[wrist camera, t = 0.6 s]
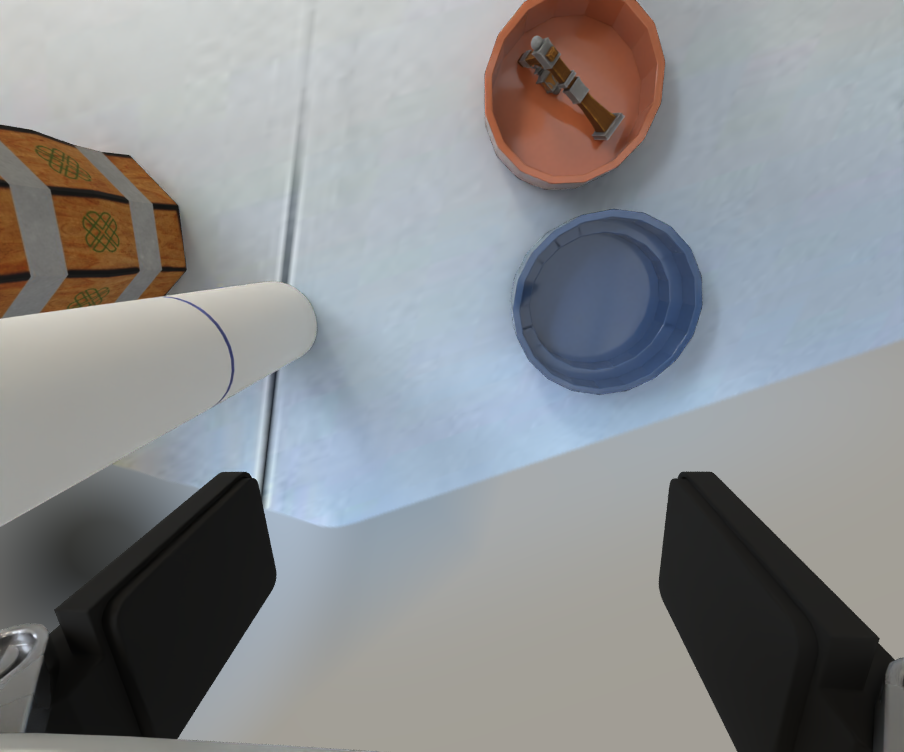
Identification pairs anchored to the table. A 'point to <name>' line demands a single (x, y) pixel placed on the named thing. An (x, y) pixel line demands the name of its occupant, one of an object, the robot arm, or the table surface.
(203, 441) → the table surface
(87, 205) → the mug
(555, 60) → the wooden post with brackets
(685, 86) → the table surface
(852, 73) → the table surface
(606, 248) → the bowl
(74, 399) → the cylindrical container
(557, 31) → the shallow terracotta dish
